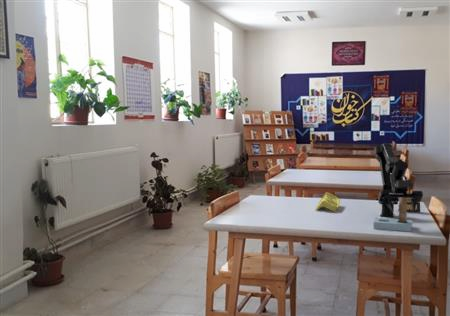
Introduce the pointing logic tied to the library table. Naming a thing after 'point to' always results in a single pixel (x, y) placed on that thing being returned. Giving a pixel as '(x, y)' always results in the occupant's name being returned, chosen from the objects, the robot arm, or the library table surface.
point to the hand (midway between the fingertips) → (403, 211)
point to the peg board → (392, 224)
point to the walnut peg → (402, 209)
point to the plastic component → (329, 202)
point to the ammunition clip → (409, 209)
